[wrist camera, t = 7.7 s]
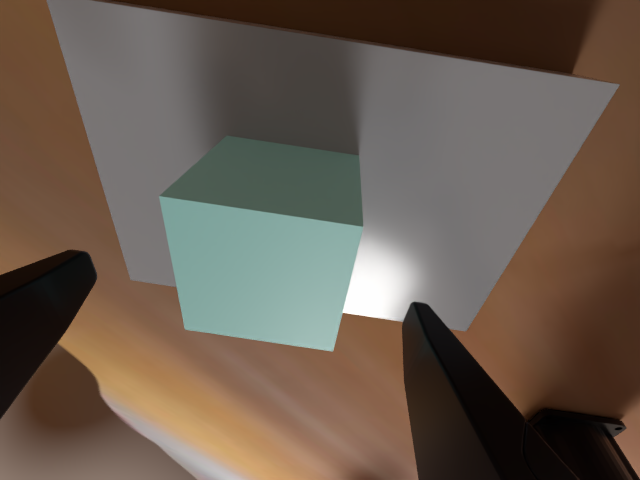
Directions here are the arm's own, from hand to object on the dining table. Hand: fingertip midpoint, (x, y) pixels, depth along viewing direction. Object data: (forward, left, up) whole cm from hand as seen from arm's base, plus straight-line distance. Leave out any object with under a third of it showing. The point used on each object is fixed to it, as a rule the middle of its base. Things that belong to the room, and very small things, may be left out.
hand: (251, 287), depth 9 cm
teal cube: (0, 0, -5) cm, 5 cm away
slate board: (-1, 0, -8) cm, 8 cm away
